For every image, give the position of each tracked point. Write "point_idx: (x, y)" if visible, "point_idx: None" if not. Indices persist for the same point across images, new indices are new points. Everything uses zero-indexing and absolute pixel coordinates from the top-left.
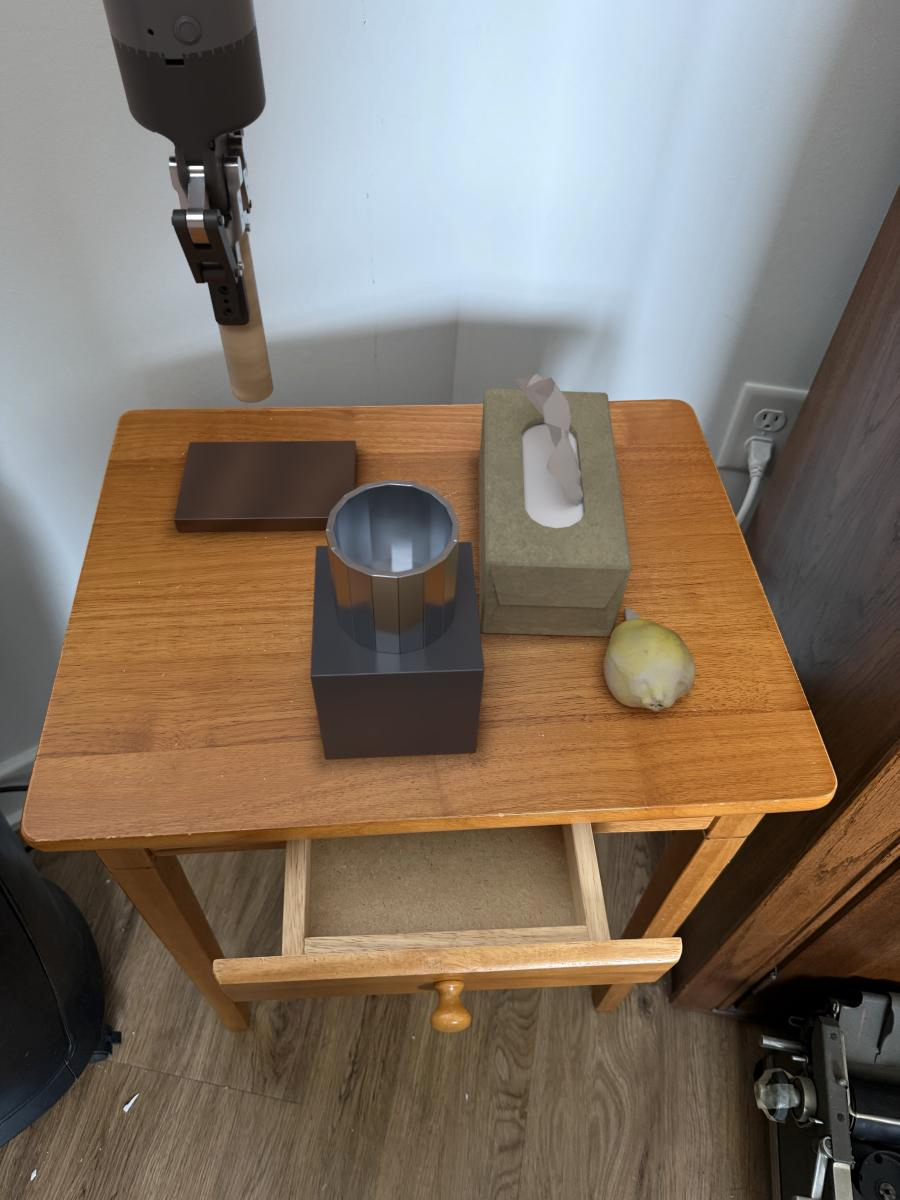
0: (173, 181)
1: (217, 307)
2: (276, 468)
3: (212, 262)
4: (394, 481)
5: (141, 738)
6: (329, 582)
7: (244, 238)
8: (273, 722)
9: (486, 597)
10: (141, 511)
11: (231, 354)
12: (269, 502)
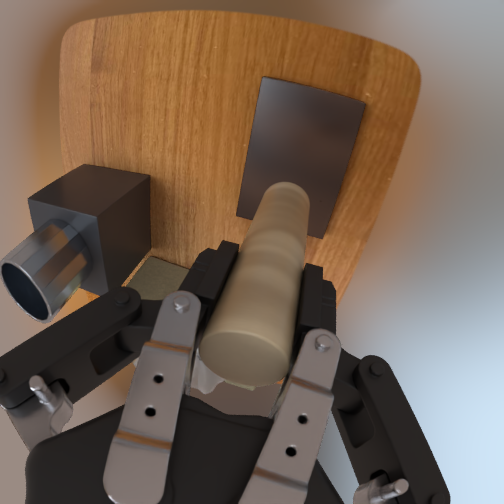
0: (110, 451)
1: (192, 265)
2: (306, 171)
3: (122, 336)
4: (49, 307)
5: (97, 66)
6: (73, 219)
7: (233, 380)
8: (101, 138)
9: (133, 276)
10: (299, 49)
11: (255, 217)
12: (265, 157)
